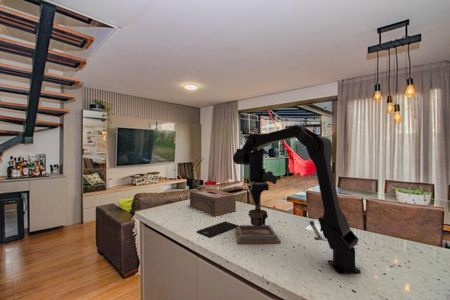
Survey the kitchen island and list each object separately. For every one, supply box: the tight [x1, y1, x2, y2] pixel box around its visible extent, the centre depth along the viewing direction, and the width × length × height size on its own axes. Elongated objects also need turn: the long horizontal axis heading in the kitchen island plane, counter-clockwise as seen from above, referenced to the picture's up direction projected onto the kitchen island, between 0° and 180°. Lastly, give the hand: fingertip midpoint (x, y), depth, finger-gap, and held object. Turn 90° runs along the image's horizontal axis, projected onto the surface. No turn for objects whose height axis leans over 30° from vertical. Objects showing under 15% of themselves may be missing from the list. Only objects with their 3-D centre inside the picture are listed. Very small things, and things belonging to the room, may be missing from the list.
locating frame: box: [236, 224, 278, 240], centre depth 89 cm, size 12×14×2 cm
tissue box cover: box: [189, 188, 237, 218], centre depth 129 cm, size 26×14×10 cm, turn 39°
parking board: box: [234, 228, 282, 245], centre depth 89 cm, size 14×16×1 cm
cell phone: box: [196, 220, 238, 239], centre depth 97 cm, size 9×18×1 cm, turn 136°
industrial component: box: [247, 197, 269, 226], centre depth 89 cm, size 9×7×12 cm
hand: (256, 204), depth 89 cm, fingers closed on industrial component, 2 cm apart
